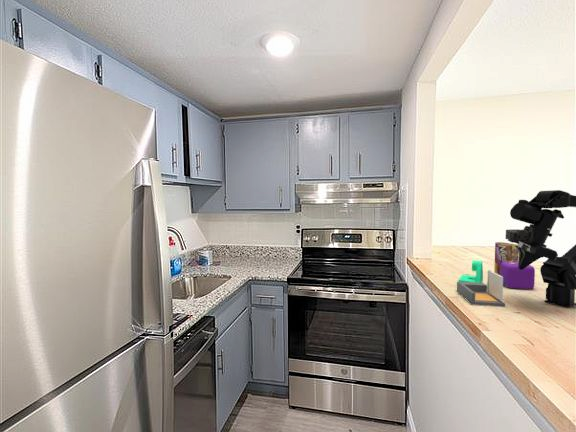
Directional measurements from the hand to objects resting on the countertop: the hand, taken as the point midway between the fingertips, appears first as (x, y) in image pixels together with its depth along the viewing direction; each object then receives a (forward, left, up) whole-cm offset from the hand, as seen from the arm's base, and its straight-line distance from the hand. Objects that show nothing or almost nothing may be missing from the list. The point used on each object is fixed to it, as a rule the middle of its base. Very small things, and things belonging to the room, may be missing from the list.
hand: (519, 269), depth 107 cm
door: (+5, +6, -10) cm, 12 cm away
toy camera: (+12, -21, -12) cm, 27 cm away
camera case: (+9, +8, -11) cm, 17 cm away
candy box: (+23, -35, -12) cm, 44 cm away
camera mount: (+22, -7, -12) cm, 26 cm away
